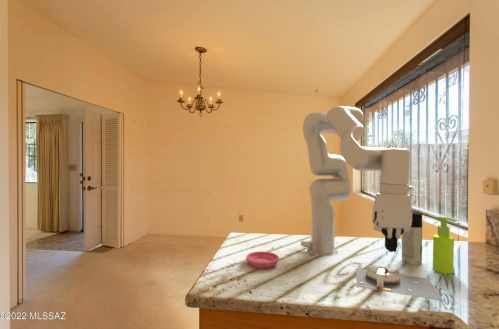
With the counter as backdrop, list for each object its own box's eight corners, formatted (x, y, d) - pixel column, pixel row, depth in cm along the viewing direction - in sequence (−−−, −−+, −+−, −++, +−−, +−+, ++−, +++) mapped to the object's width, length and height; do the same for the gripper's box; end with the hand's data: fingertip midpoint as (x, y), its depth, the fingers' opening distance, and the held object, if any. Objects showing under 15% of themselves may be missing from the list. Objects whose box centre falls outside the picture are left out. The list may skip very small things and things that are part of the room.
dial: (368, 269, 95) (368, 257, 95) (400, 275, 90) (400, 263, 90) (362, 283, 84) (362, 270, 84) (399, 292, 79) (399, 278, 78)
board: (356, 290, 82) (356, 285, 82) (355, 269, 98) (355, 266, 98) (442, 304, 75) (442, 299, 75) (426, 279, 90) (426, 275, 90)
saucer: (252, 257, 111) (252, 249, 111) (282, 261, 107) (282, 253, 107) (241, 268, 99) (241, 259, 99) (274, 273, 95) (274, 264, 95)
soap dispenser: (450, 279, 91) (452, 220, 90) (429, 272, 97) (430, 216, 97) (460, 276, 93) (461, 218, 93) (438, 269, 100) (439, 214, 99)
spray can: (424, 268, 100) (425, 214, 100) (404, 267, 101) (405, 213, 101) (417, 262, 106) (418, 211, 106) (398, 260, 108) (399, 210, 108)
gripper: (410, 188, 85) (407, 246, 86) (363, 187, 84) (360, 245, 85) (426, 192, 77) (423, 255, 78) (375, 191, 77) (372, 254, 78)
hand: (390, 250), depth 82 cm, fingers closed
